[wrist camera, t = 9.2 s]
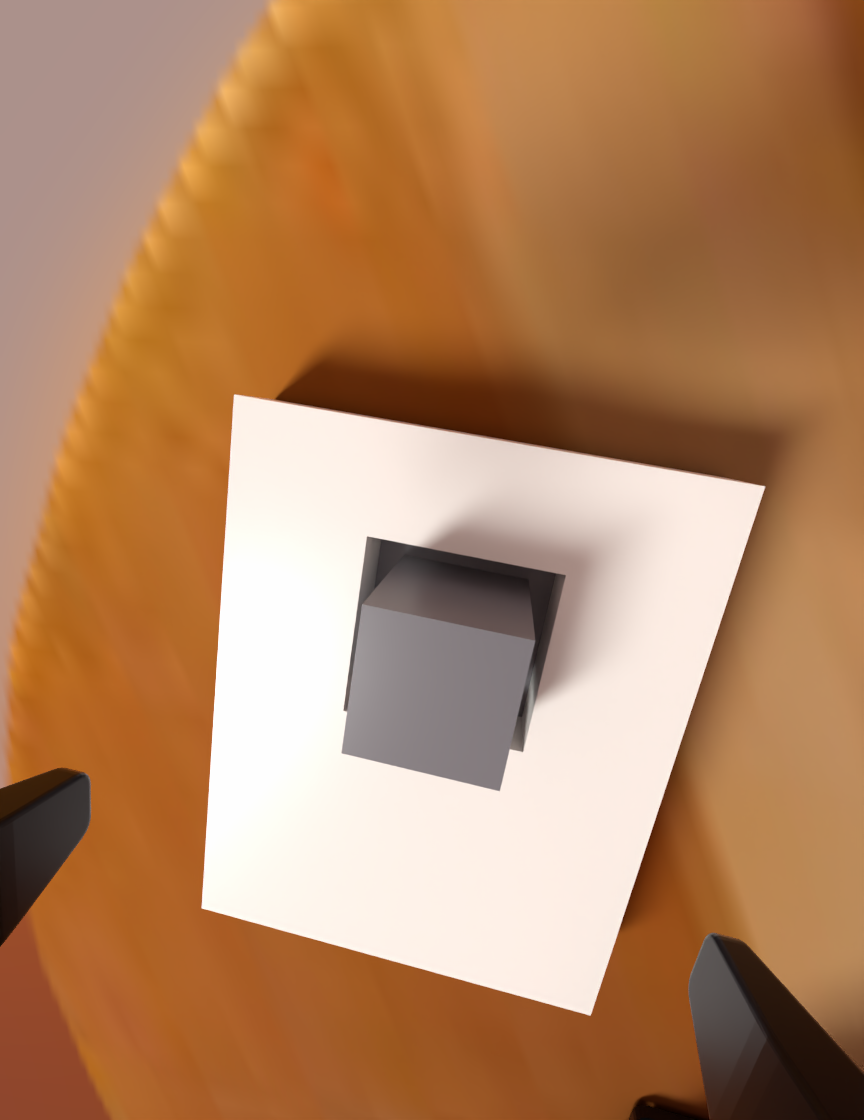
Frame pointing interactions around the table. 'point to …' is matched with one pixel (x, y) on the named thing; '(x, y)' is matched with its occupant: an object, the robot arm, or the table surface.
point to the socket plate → (544, 715)
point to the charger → (440, 671)
